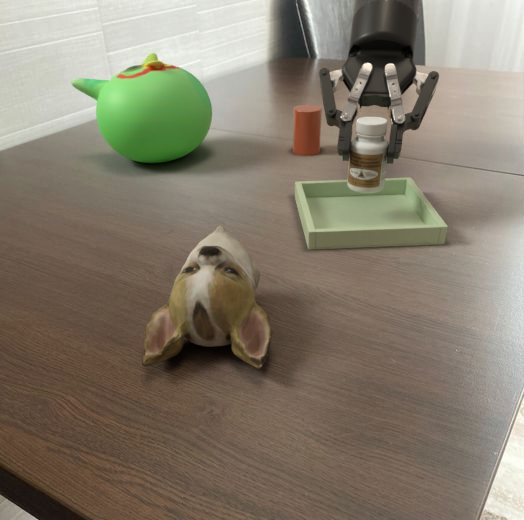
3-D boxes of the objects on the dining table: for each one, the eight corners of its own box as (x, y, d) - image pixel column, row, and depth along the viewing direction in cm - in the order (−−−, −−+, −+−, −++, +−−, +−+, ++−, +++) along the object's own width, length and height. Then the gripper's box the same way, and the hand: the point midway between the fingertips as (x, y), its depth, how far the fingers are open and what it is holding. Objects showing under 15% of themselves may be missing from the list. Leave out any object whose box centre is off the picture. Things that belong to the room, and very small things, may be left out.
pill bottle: (342, 191, 66) (347, 123, 61) (352, 178, 69) (357, 113, 64) (379, 196, 64) (387, 127, 60) (387, 183, 67) (395, 116, 63)
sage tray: (408, 195, 75) (411, 177, 74) (444, 247, 63) (448, 226, 61) (294, 199, 75) (294, 181, 73) (308, 252, 63) (308, 231, 61)
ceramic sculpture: (277, 209, 50) (267, 306, 39) (278, 288, 56) (270, 394, 44) (162, 209, 51) (119, 304, 40) (175, 287, 57) (140, 390, 45)
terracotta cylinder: (317, 148, 92) (319, 104, 88) (321, 157, 89) (323, 111, 84) (291, 149, 92) (292, 105, 88) (294, 158, 89) (294, 112, 84)
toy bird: (147, 186, 80) (130, 74, 71) (82, 161, 89) (60, 60, 80) (234, 155, 90) (230, 54, 81) (168, 136, 99) (157, 44, 91)
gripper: (322, -4, 62) (302, 139, 60) (453, -3, 60) (438, 146, 58) (325, 42, 69) (307, 170, 67) (442, 44, 67) (428, 178, 65)
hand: (368, 158), depth 63 cm, fingers closed on pill bottle, 4 cm apart
